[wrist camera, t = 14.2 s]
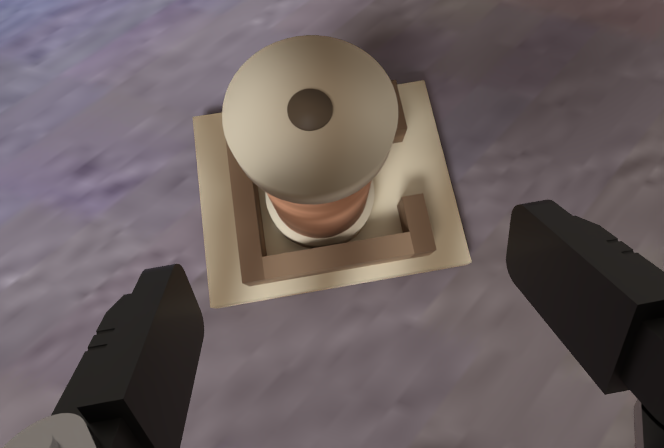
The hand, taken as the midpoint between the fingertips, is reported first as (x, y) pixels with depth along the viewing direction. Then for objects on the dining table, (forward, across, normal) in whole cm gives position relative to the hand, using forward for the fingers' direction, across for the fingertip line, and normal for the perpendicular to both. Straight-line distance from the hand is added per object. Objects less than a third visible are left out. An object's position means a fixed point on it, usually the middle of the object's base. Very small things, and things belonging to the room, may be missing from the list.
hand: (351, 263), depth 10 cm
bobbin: (+13, 0, +5) cm, 14 cm away
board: (+15, 0, +5) cm, 16 cm away
